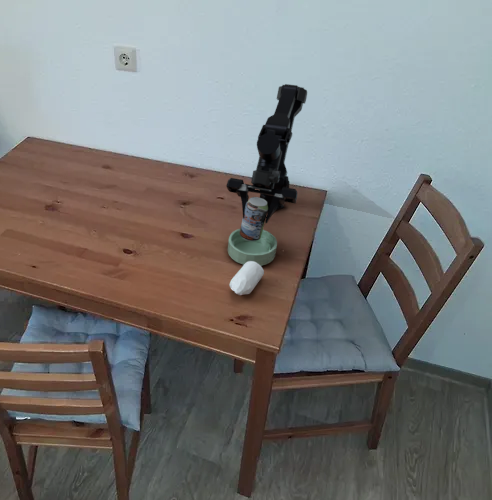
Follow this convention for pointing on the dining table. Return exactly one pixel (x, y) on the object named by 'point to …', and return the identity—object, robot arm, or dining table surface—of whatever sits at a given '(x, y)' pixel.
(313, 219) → the dining table surface
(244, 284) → the roll
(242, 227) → the beverage can
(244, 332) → the dining table surface
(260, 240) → the bowl
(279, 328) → the dining table surface
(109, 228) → the dining table surface
